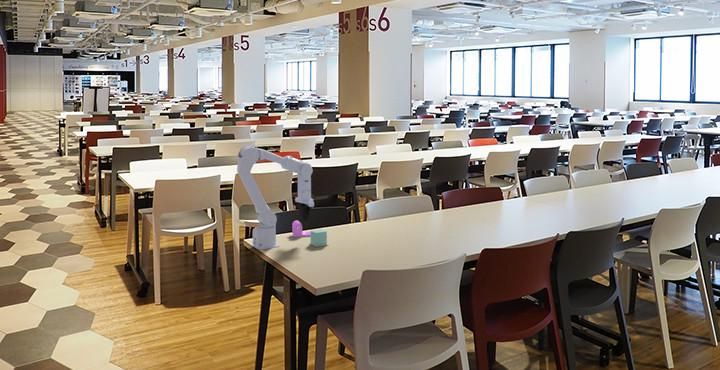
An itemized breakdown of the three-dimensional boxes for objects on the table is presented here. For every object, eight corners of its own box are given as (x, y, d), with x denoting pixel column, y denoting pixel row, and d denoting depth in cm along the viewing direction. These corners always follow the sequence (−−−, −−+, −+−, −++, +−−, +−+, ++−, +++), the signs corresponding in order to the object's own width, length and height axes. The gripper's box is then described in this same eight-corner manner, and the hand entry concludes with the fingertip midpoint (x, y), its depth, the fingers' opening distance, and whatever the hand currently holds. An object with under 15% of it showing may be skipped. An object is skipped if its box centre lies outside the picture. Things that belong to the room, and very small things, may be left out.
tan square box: (315, 248, 269) (315, 238, 268) (308, 244, 274) (308, 235, 273) (328, 246, 272) (328, 236, 271) (321, 243, 277) (321, 233, 277)
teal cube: (316, 246, 269) (315, 233, 268) (310, 244, 274) (310, 230, 273) (326, 245, 272) (326, 231, 271) (321, 242, 276) (321, 229, 275)
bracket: (294, 238, 287) (294, 223, 286) (292, 235, 292) (292, 220, 291) (322, 236, 290) (322, 221, 289) (320, 233, 296) (319, 219, 294)
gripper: (320, 191, 271) (320, 222, 273) (305, 186, 283) (305, 216, 285) (305, 192, 267) (305, 224, 269) (290, 188, 279) (291, 218, 281)
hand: (304, 220), depth 277 cm, fingers closed
